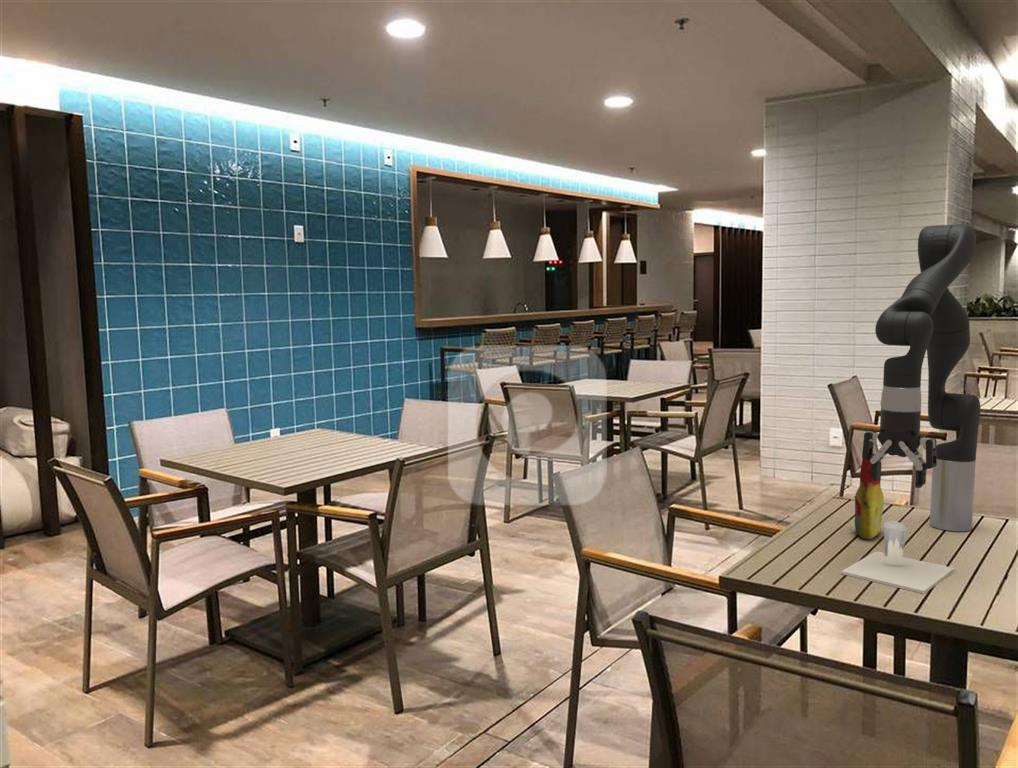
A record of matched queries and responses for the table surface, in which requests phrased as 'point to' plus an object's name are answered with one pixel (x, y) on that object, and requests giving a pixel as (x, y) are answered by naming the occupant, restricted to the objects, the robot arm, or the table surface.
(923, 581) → the mat
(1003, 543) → the table surface
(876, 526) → the bottle
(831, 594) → the table surface
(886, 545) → the milkshake
